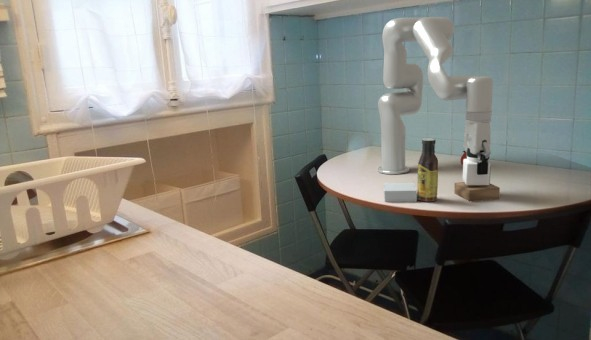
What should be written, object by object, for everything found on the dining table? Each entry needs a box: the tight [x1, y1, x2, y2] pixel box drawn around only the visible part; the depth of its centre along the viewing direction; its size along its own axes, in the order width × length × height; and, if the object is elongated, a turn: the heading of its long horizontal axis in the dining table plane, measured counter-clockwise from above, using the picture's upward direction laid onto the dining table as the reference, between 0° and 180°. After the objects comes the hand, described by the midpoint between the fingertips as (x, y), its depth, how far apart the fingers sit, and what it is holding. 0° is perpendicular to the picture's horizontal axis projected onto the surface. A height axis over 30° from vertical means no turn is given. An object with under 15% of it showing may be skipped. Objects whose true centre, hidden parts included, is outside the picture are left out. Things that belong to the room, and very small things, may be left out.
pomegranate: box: [460, 150, 467, 166], centre depth 191 cm, size 7×7×10 cm
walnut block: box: [454, 181, 501, 203], centre depth 153 cm, size 10×10×4 cm
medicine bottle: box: [462, 148, 492, 185], centre depth 151 cm, size 7×7×12 cm
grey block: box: [383, 182, 418, 203], centre depth 156 cm, size 10×10×4 cm
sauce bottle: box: [416, 137, 439, 203], centre depth 150 cm, size 7×6×20 cm
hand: (476, 171), depth 152 cm, fingers closed on medicine bottle, 8 cm apart
